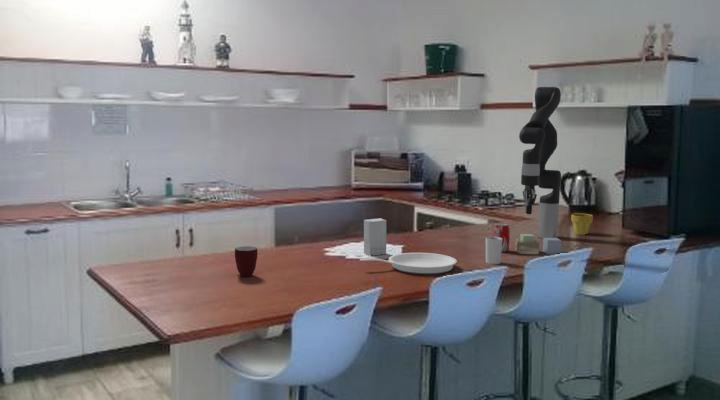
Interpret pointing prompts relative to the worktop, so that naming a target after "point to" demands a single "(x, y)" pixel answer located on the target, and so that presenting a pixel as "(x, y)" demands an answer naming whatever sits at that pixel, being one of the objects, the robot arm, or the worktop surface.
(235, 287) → the worktop surface
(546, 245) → the slate block
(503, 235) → the soda can
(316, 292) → the worktop surface
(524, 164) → the robot arm
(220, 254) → the worktop surface
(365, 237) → the skincare box
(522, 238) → the green cap
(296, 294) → the worktop surface
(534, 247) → the button housing
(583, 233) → the plant pot
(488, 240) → the drinking glass
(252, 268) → the mug
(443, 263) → the pan
